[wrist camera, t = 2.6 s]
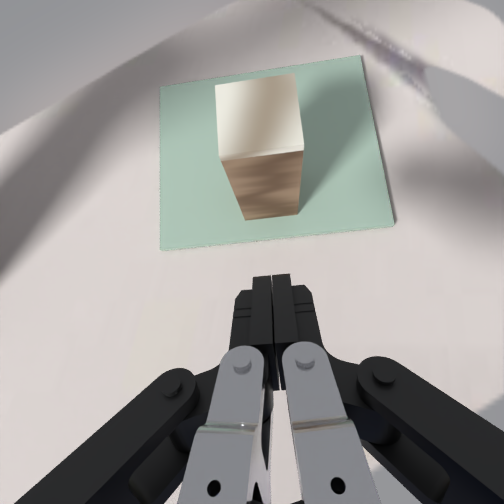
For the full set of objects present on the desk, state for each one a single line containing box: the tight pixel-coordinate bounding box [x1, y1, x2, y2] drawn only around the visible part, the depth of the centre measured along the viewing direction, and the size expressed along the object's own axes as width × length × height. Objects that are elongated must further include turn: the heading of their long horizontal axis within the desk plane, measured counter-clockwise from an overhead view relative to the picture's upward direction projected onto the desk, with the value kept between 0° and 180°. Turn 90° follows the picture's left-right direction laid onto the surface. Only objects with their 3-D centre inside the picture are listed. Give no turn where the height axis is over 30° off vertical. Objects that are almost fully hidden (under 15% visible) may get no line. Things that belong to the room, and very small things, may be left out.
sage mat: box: [160, 55, 395, 251], centre depth 30 cm, size 22×19×1 cm
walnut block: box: [215, 73, 304, 221], centre depth 23 cm, size 5×5×11 cm
